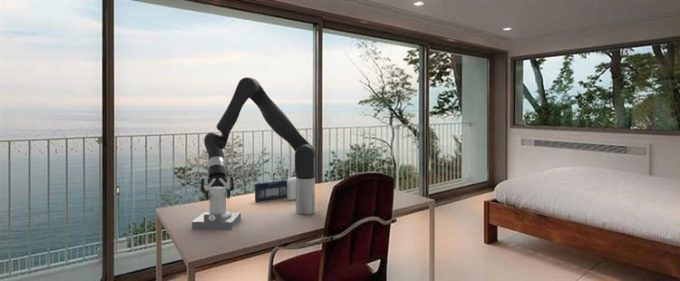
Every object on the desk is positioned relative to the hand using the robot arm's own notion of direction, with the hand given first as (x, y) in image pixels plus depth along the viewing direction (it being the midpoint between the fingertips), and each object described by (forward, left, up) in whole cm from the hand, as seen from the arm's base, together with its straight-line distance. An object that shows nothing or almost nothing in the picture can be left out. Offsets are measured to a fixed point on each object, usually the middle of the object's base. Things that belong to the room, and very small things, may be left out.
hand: (218, 198), depth 168 cm
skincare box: (+1, -1, -7) cm, 7 cm away
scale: (0, 0, -11) cm, 11 cm away
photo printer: (-29, -45, -11) cm, 54 cm away
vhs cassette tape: (-16, -42, -12) cm, 46 cm away
